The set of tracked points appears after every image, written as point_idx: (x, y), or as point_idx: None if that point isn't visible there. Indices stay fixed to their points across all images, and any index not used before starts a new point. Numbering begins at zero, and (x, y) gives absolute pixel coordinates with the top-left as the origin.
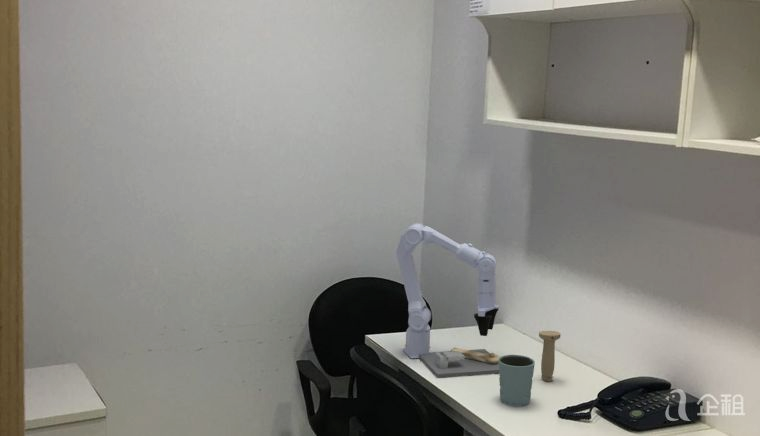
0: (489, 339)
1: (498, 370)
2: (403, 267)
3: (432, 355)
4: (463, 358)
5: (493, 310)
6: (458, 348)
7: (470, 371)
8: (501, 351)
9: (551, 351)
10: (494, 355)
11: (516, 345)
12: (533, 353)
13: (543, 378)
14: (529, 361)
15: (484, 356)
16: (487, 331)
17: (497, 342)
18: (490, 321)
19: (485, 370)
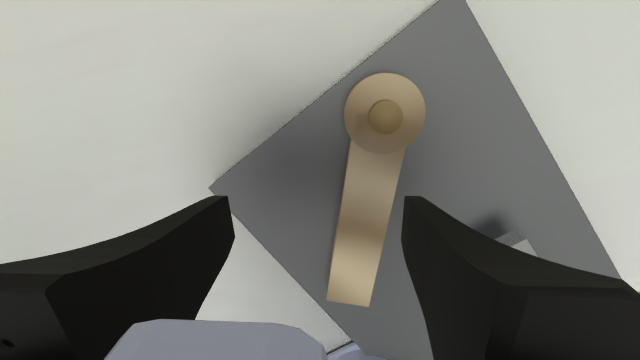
0: (45, 201)
1: (487, 45)
2: None
3: (396, 339)
4: (521, 235)
5: (97, 321)
6: (331, 284)
7: (553, 171)
8: (154, 116)
9: None
10: (390, 101)
11: (24, 69)
12: None
13: None
14: None
15: (397, 153)
16: (437, 207)
17: (54, 162)
18: (197, 246)
19: (519, 108)
